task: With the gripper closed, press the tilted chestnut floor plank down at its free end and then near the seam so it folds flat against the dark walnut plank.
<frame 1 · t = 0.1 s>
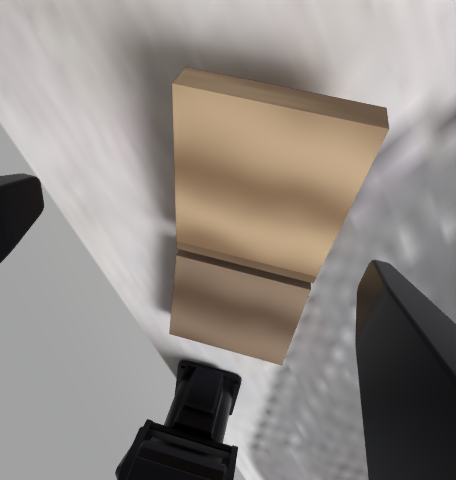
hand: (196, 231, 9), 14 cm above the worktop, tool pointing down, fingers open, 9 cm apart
walnut plank: (237, 295, 29), on the worktop
chestnut plank: (259, 192, 21), point 3 cm above the worktop, hinge at 15.0°
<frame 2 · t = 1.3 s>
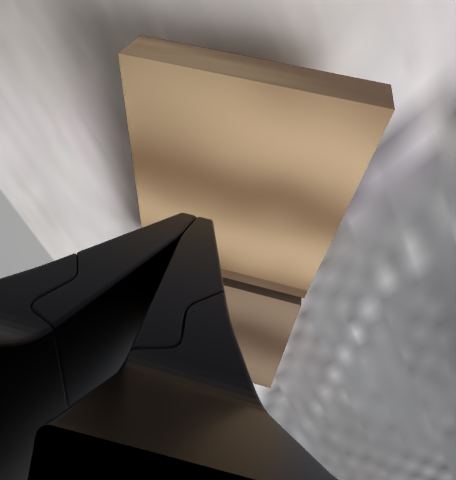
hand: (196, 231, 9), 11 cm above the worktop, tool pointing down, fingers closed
walnut plank: (220, 309, 26), on the worktop
chestnut plank: (238, 192, 17), point 3 cm above the worktop, hinge at 15.0°
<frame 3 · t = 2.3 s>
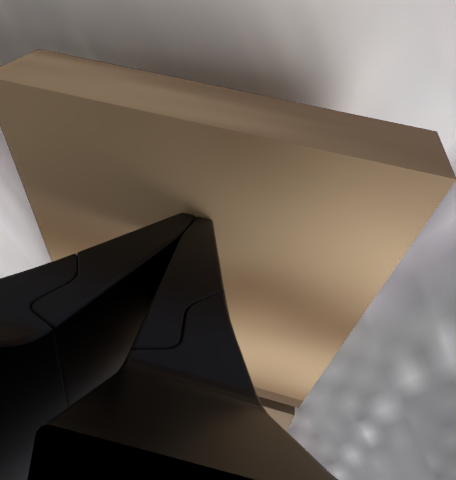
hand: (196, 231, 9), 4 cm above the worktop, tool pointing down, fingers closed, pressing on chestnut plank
walnut plank: (191, 395, 20), on the worktop
chestnut plank: (201, 274, 12), point 3 cm above the worktop, hinge at 11.9°, touching gripper
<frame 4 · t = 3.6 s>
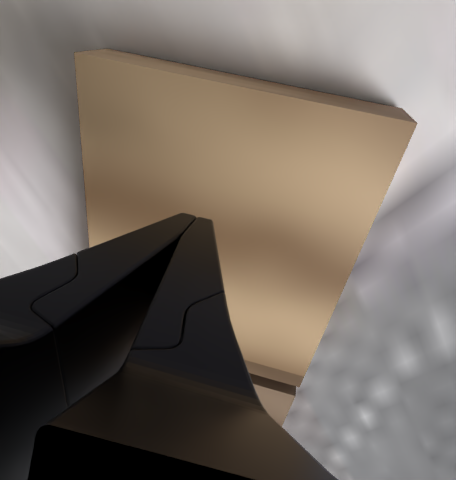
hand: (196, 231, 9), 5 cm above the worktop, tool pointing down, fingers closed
walnut plank: (197, 381, 21), on the worktop
chestnut plank: (217, 241, 14), point 1 cm above the worktop, hinge at -0.3°
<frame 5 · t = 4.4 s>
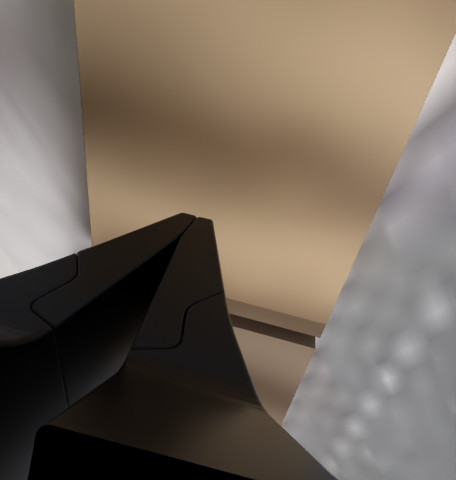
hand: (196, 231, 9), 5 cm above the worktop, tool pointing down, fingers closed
walnut plank: (204, 343, 19), on the worktop
chestnut plank: (230, 166, 12), point 1 cm above the worktop, hinge at -0.3°
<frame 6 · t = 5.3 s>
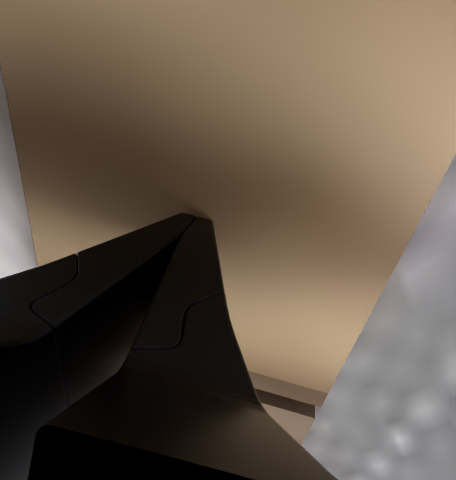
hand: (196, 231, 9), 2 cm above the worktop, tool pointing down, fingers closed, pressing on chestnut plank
walnut plank: (186, 393, 17), on the worktop
chestnut plank: (208, 204, 10), point 1 cm above the worktop, hinge at -0.3°, touching gripper
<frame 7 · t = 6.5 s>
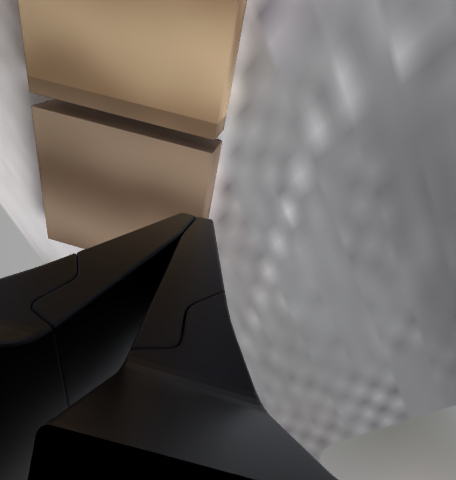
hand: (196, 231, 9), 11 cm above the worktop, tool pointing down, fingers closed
walnut plank: (135, 186, 22), on the worktop
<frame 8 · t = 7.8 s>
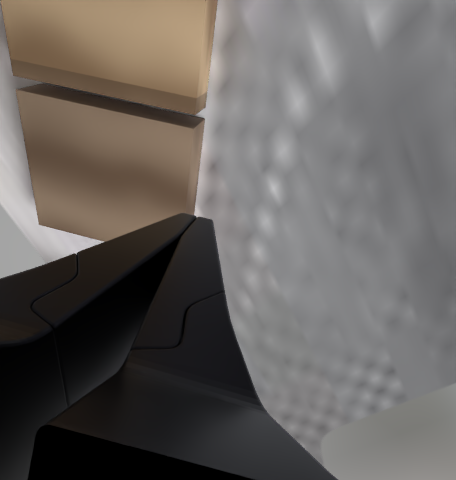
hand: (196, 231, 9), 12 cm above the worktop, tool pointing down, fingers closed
walnut plank: (122, 170, 22), on the worktop
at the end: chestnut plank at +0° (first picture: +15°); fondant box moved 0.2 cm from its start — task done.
